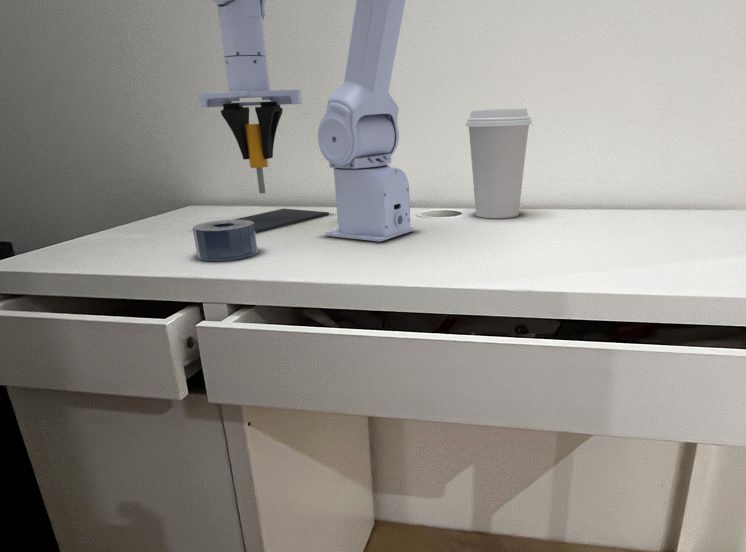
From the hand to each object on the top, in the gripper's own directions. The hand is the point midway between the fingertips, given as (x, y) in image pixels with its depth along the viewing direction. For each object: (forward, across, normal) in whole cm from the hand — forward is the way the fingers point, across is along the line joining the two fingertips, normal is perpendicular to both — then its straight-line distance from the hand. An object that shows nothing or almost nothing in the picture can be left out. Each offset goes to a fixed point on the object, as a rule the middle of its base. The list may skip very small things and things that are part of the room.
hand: (258, 158), depth 92 cm
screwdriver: (+5, 0, 0) cm, 5 cm away
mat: (+9, 0, 0) cm, 9 cm away
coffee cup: (+10, +35, +3) cm, 37 cm away
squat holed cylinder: (+9, +2, -22) cm, 24 cm away
